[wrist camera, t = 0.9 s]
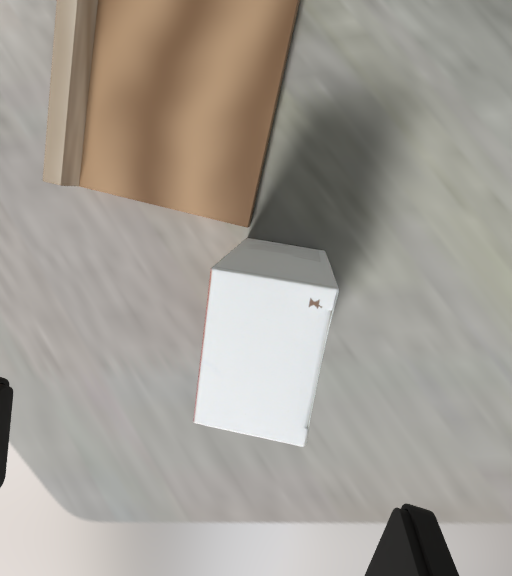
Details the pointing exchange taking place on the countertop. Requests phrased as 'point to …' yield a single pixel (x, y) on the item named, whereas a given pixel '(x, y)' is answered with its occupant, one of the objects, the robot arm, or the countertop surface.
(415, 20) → the countertop surface
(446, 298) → the countertop surface
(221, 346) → the small box
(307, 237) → the countertop surface
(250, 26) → the shelf board
